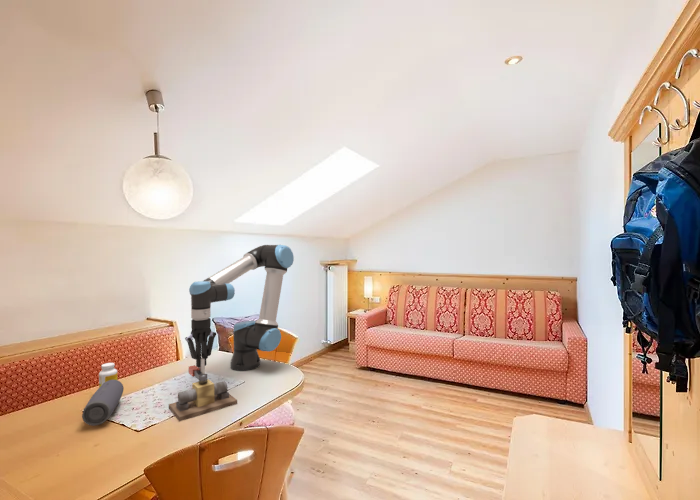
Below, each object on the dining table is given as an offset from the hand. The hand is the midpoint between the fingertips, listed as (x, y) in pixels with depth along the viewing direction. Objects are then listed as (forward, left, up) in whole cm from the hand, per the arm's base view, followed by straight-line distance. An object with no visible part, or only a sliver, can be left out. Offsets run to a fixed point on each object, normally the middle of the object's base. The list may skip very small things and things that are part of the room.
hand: (201, 373), depth 156 cm
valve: (+2, +9, -10) cm, 14 cm away
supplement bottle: (+30, -29, -10) cm, 42 cm away
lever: (+2, +3, 0) cm, 4 cm away
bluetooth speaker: (+33, -8, -10) cm, 36 cm away
